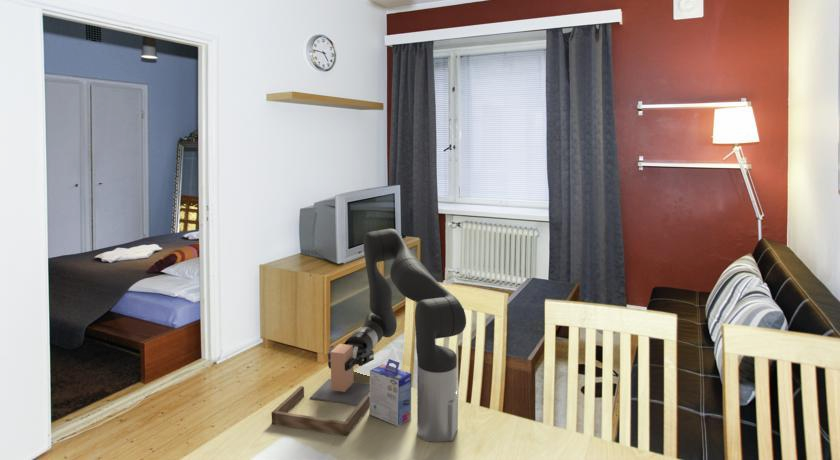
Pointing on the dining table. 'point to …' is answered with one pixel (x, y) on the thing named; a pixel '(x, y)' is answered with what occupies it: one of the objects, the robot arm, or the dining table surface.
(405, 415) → the ink cartridge box
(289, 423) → the walnut open frame
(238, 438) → the dining table surface
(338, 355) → the tall peach block
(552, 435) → the dining table surface
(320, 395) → the charcoal mat
